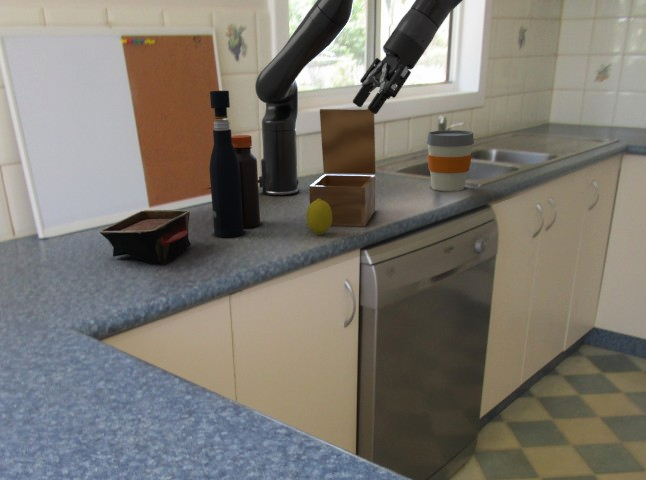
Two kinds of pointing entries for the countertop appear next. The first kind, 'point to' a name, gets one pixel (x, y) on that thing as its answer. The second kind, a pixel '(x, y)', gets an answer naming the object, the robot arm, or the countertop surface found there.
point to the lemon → (319, 216)
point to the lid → (348, 141)
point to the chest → (346, 197)
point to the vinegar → (248, 180)
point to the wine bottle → (224, 173)
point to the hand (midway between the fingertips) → (363, 108)
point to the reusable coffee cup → (449, 158)
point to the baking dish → (150, 235)
